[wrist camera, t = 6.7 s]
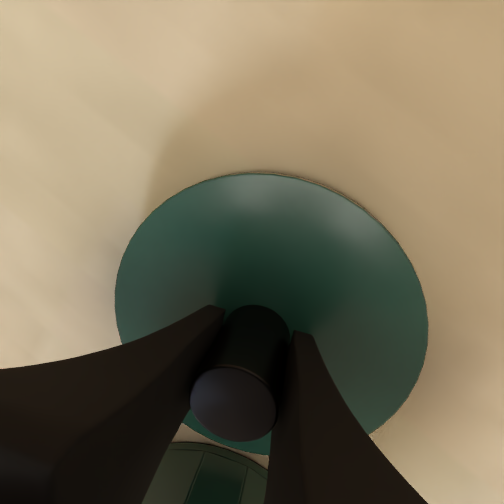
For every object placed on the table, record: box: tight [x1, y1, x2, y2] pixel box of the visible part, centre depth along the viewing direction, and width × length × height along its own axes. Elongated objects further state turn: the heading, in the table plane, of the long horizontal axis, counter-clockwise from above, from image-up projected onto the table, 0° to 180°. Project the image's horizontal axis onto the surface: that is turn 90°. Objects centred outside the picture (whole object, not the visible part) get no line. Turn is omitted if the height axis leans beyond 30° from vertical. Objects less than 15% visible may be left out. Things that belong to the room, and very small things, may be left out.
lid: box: [115, 172, 428, 455], centre depth 10 cm, size 11×11×4 cm
